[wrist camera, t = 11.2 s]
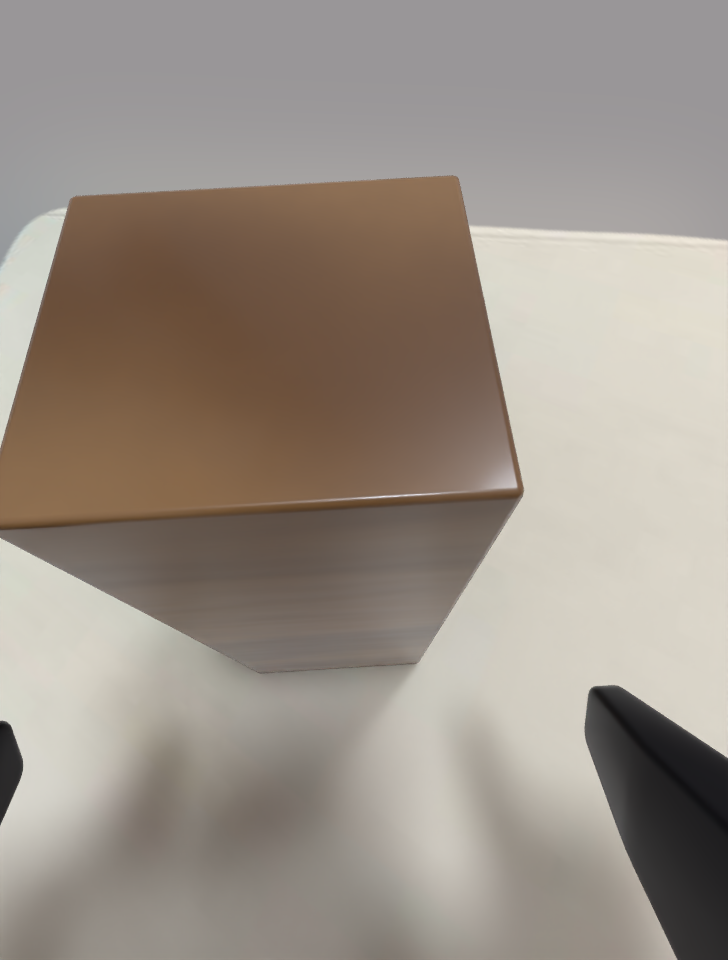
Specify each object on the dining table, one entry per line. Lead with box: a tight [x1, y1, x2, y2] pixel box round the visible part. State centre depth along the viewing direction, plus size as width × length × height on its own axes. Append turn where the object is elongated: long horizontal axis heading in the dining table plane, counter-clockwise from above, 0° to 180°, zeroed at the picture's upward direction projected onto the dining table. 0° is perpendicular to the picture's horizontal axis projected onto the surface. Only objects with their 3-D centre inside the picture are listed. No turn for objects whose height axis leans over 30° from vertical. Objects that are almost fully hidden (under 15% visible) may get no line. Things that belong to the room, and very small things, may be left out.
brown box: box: [0, 176, 524, 673], centre depth 13 cm, size 5×6×14 cm
